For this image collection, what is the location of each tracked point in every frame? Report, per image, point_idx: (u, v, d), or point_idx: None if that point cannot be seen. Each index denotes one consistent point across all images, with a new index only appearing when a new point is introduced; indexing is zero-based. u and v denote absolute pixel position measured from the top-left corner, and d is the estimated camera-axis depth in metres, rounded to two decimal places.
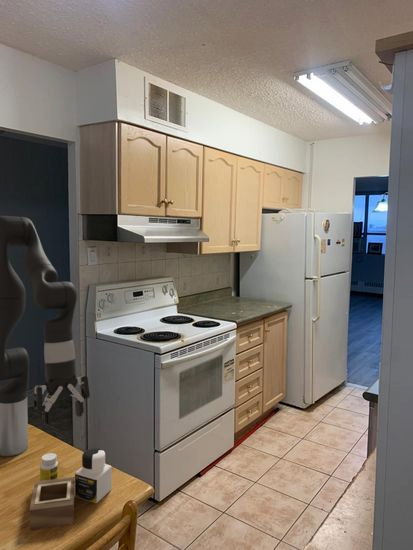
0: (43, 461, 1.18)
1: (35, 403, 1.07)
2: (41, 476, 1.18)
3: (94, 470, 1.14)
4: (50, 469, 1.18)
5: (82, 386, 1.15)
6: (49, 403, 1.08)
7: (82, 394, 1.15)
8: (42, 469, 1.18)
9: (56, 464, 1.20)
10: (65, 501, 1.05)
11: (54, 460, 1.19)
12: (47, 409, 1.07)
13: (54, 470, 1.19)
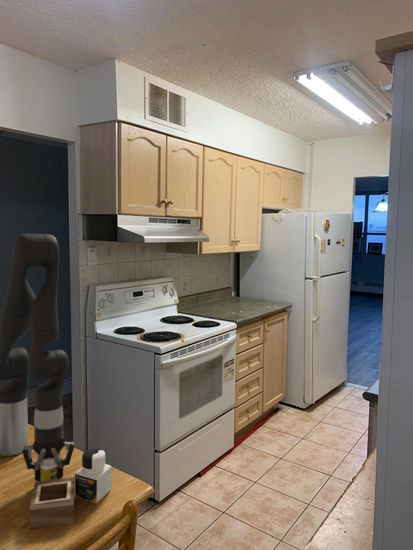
0: (43, 461, 1.18)
1: None
2: (41, 476, 1.18)
3: (94, 470, 1.14)
4: (50, 469, 1.18)
5: (67, 452, 1.21)
6: (37, 463, 1.18)
7: (64, 459, 1.21)
8: (42, 469, 1.18)
9: (56, 464, 1.20)
10: (65, 501, 1.05)
11: (54, 460, 1.19)
12: (36, 468, 1.18)
13: (54, 470, 1.19)
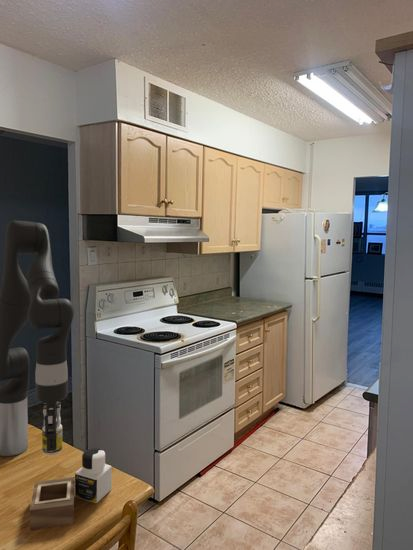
0: None
1: None
2: None
3: (94, 470, 1.14)
4: (42, 430, 1.06)
5: None
6: None
7: (51, 431, 1.03)
8: None
9: (48, 430, 1.05)
10: (65, 501, 1.05)
11: None
12: None
13: (44, 434, 1.05)
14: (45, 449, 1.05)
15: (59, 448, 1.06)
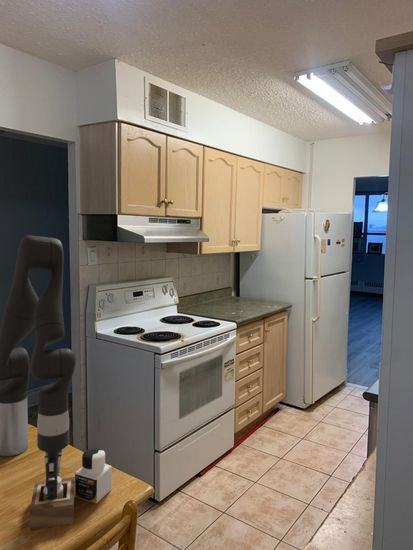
0: None
1: None
2: None
3: (94, 470, 1.14)
4: (43, 492, 1.08)
5: None
6: None
7: (52, 481, 1.03)
8: None
9: None
10: (65, 501, 1.05)
11: None
12: None
13: (45, 496, 1.07)
14: None
15: None
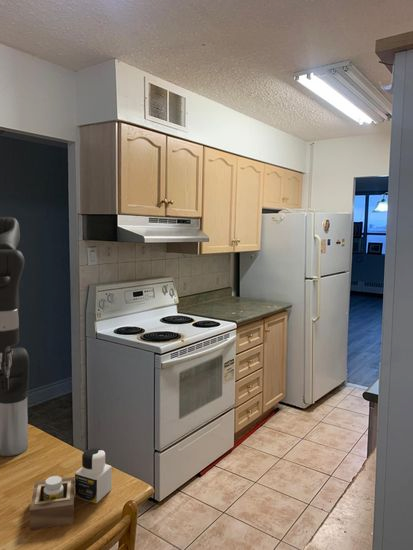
0: None
1: None
2: None
3: (94, 470, 1.14)
4: (44, 492, 1.08)
5: None
6: None
7: (2, 373, 1.10)
8: None
9: (49, 493, 1.07)
10: (65, 501, 1.05)
11: (47, 486, 1.07)
12: None
13: (45, 496, 1.07)
14: None
15: None
